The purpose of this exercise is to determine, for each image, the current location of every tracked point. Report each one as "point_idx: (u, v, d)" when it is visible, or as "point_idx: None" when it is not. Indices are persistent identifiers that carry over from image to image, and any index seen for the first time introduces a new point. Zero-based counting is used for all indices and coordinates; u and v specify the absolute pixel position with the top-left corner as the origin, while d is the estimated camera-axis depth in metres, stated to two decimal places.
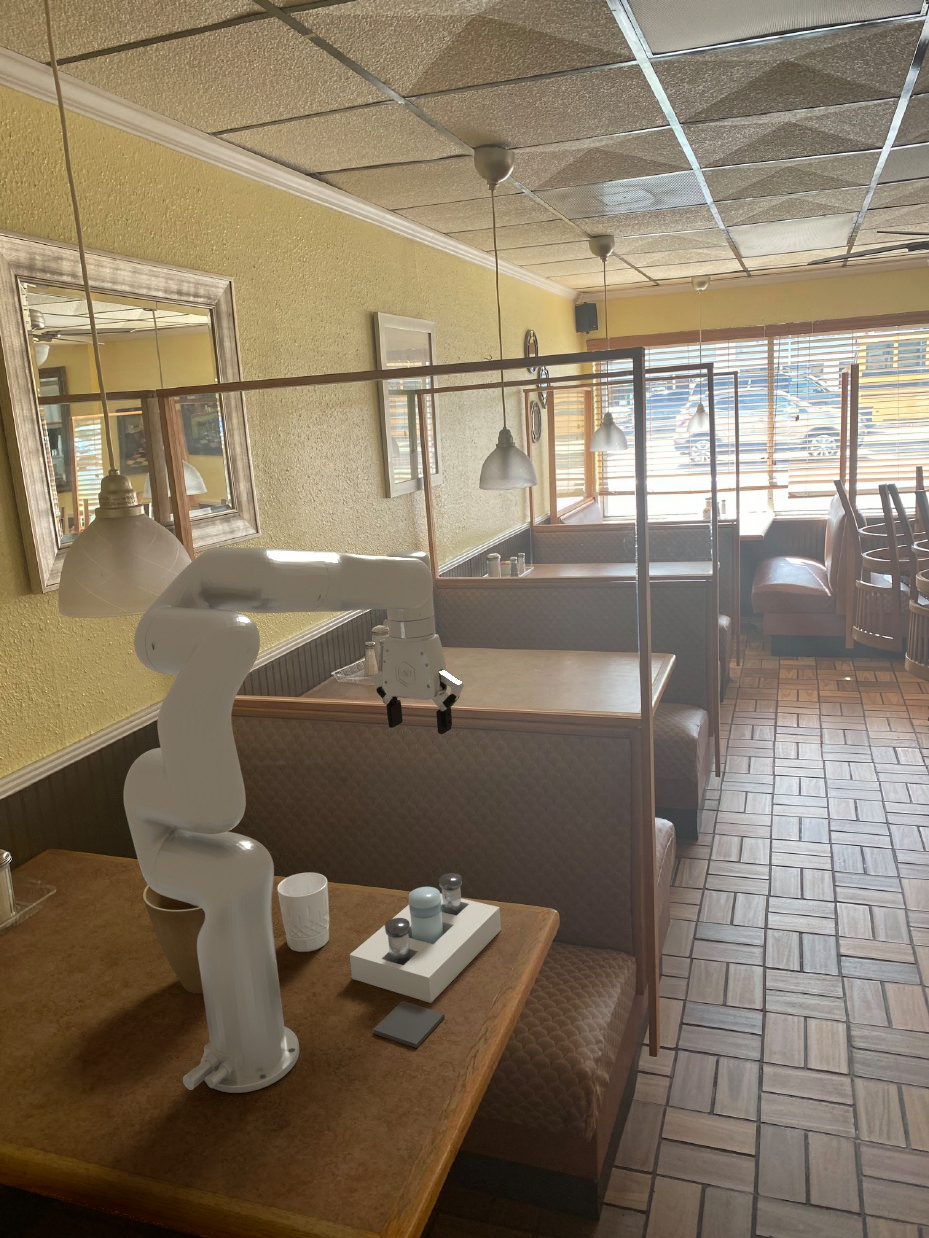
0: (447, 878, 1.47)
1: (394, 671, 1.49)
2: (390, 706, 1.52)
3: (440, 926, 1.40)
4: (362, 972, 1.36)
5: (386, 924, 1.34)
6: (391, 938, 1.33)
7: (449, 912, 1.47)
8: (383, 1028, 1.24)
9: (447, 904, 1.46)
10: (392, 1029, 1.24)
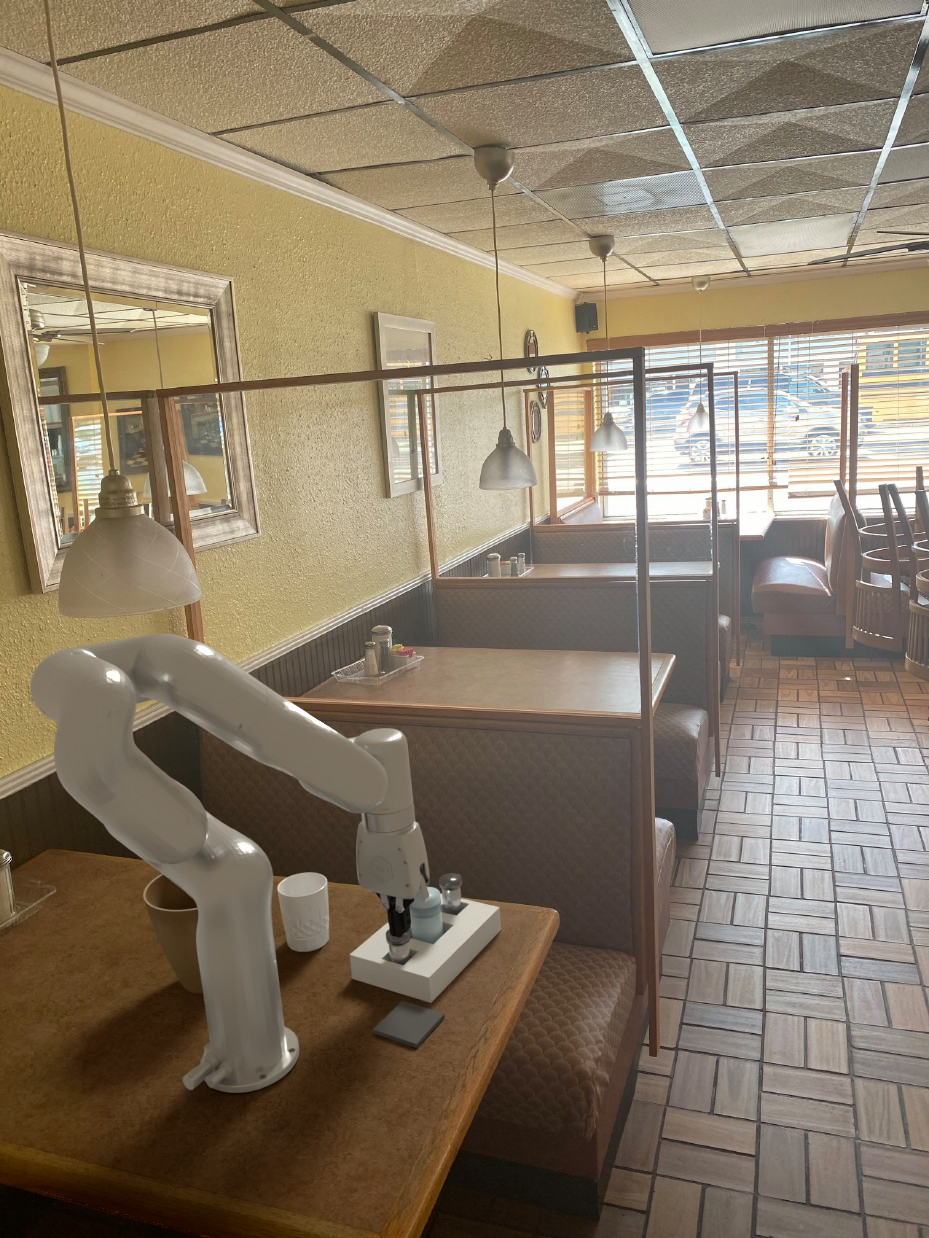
0: (447, 878, 1.47)
1: (369, 864, 1.31)
2: (391, 912, 1.33)
3: (440, 926, 1.40)
4: (362, 972, 1.36)
5: (387, 932, 1.35)
6: (392, 946, 1.34)
7: (449, 912, 1.47)
8: (383, 1028, 1.24)
9: (447, 904, 1.46)
10: (392, 1029, 1.24)
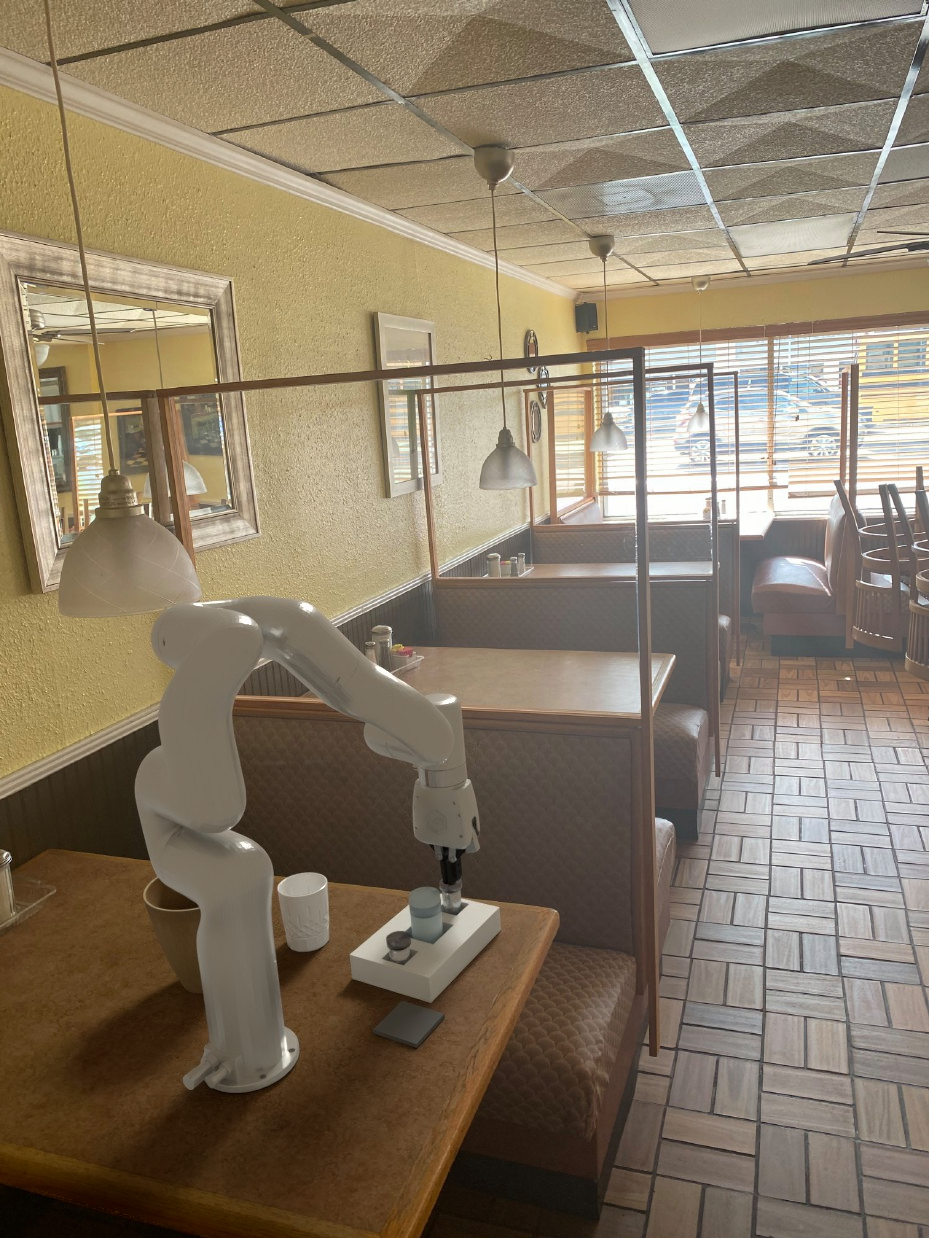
0: None
1: (425, 818, 1.44)
2: (444, 862, 1.45)
3: (440, 926, 1.40)
4: (362, 972, 1.36)
5: (387, 937, 1.35)
6: (392, 951, 1.34)
7: None
8: (383, 1028, 1.24)
9: (448, 907, 1.46)
10: (392, 1029, 1.24)
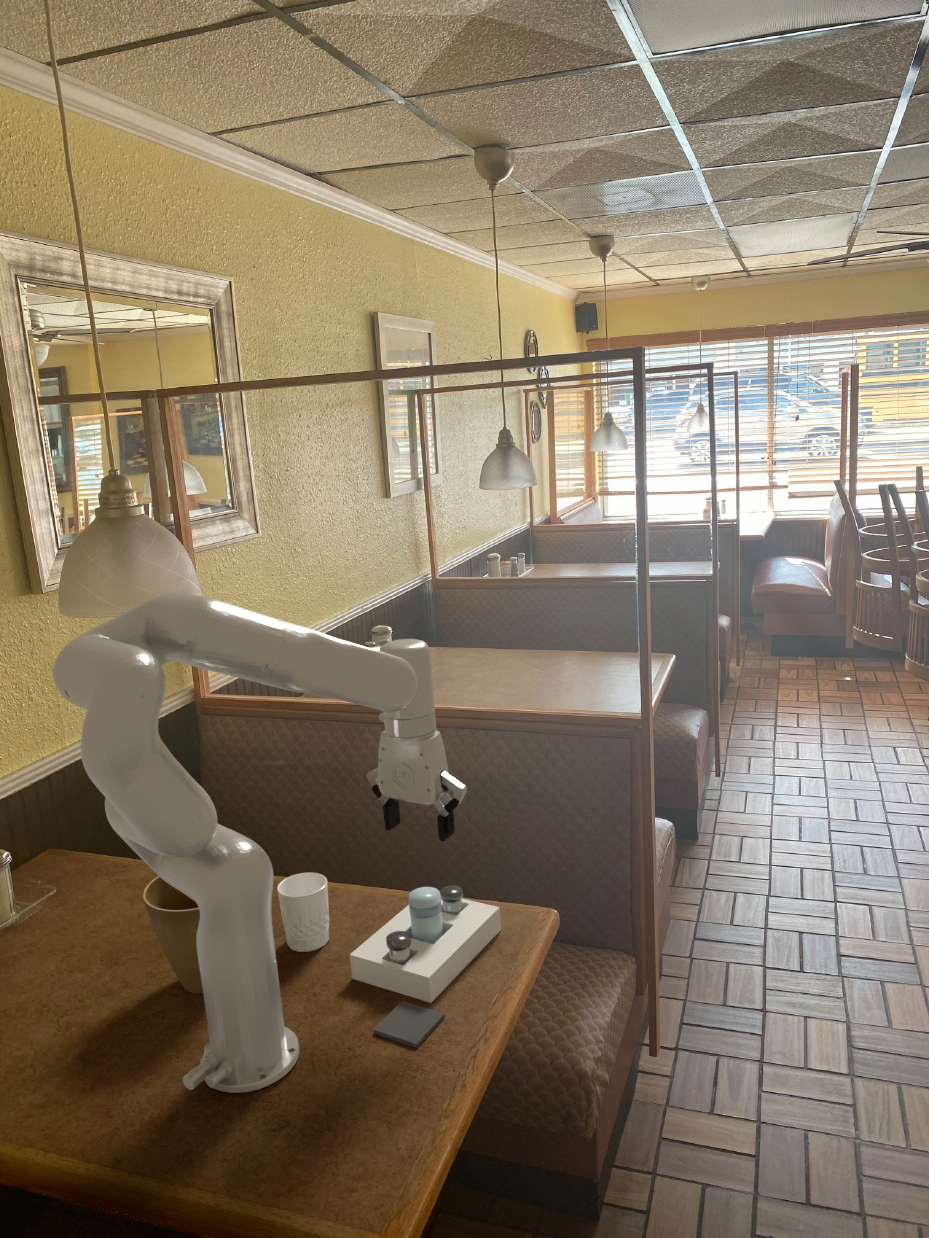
0: (448, 890, 1.47)
1: (391, 771, 1.35)
2: (387, 807, 1.39)
3: (440, 926, 1.40)
4: (362, 972, 1.36)
5: (387, 937, 1.35)
6: (392, 951, 1.34)
7: None
8: (383, 1028, 1.24)
9: None
10: (392, 1029, 1.24)
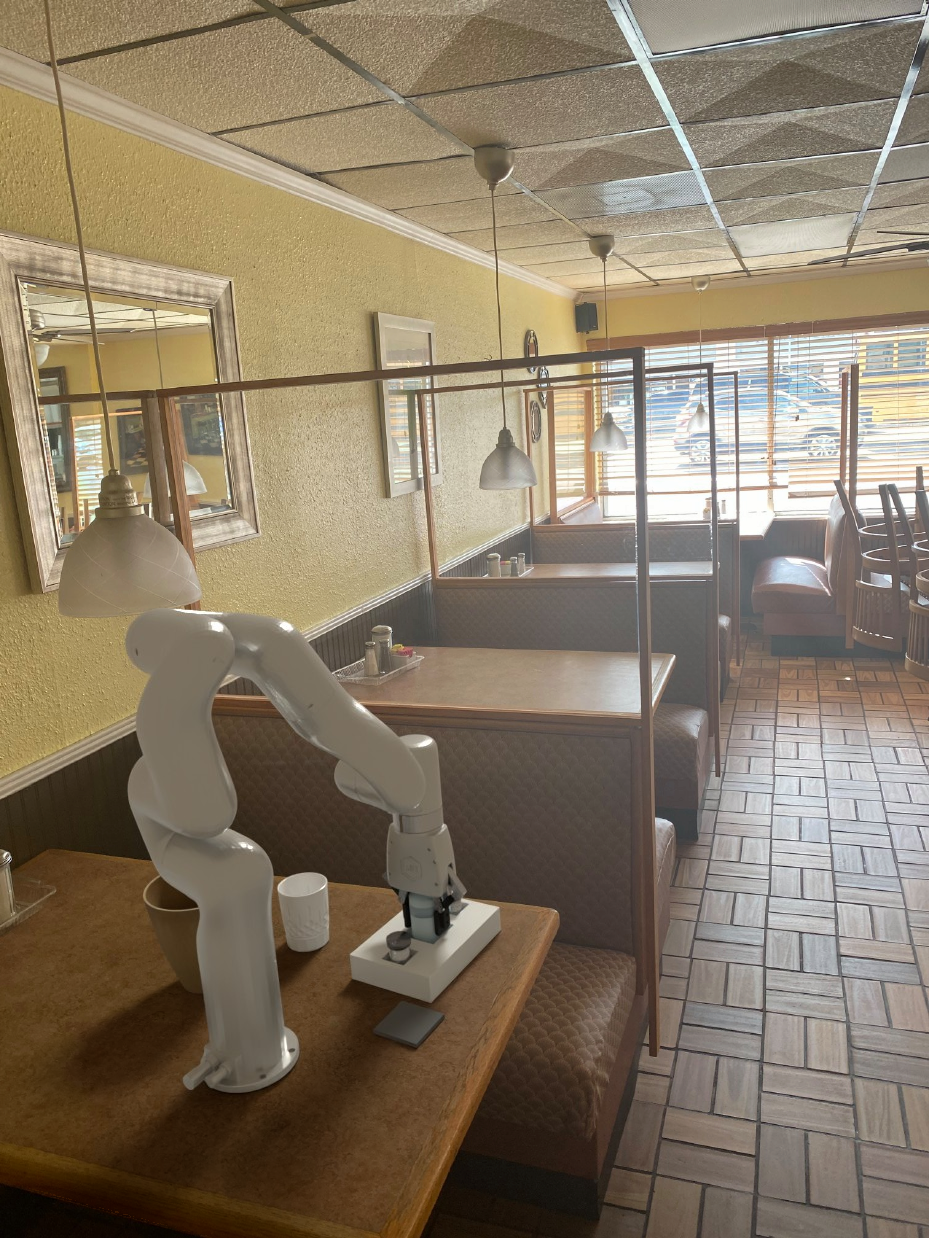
0: None
1: (399, 864, 1.38)
2: (406, 906, 1.41)
3: None
4: (362, 972, 1.36)
5: (387, 937, 1.35)
6: (392, 951, 1.34)
7: None
8: (383, 1028, 1.24)
9: None
10: (392, 1029, 1.24)
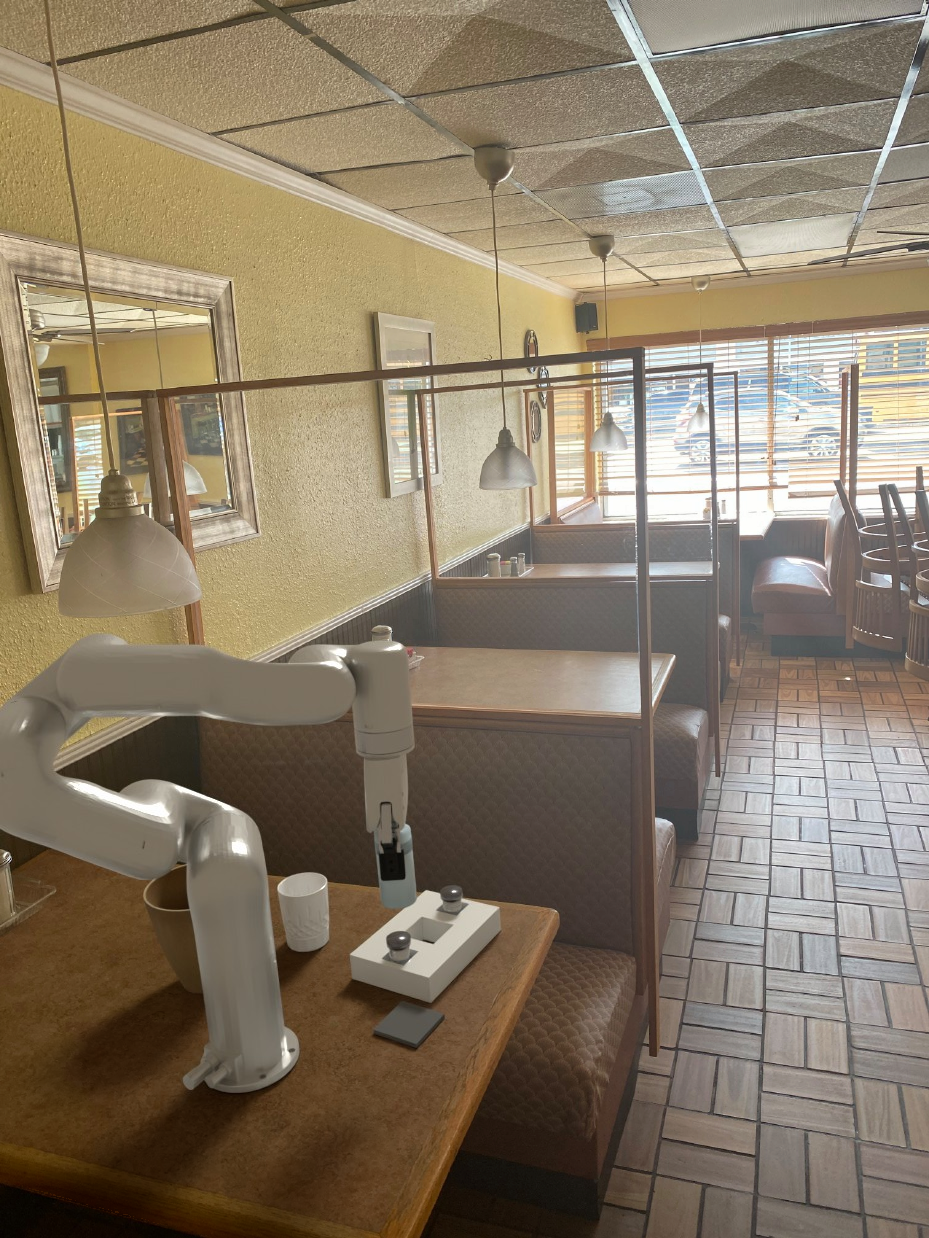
0: (448, 890, 1.47)
1: None
2: None
3: None
4: (362, 972, 1.36)
5: (387, 937, 1.35)
6: (392, 951, 1.34)
7: None
8: (383, 1028, 1.24)
9: None
10: (392, 1029, 1.24)
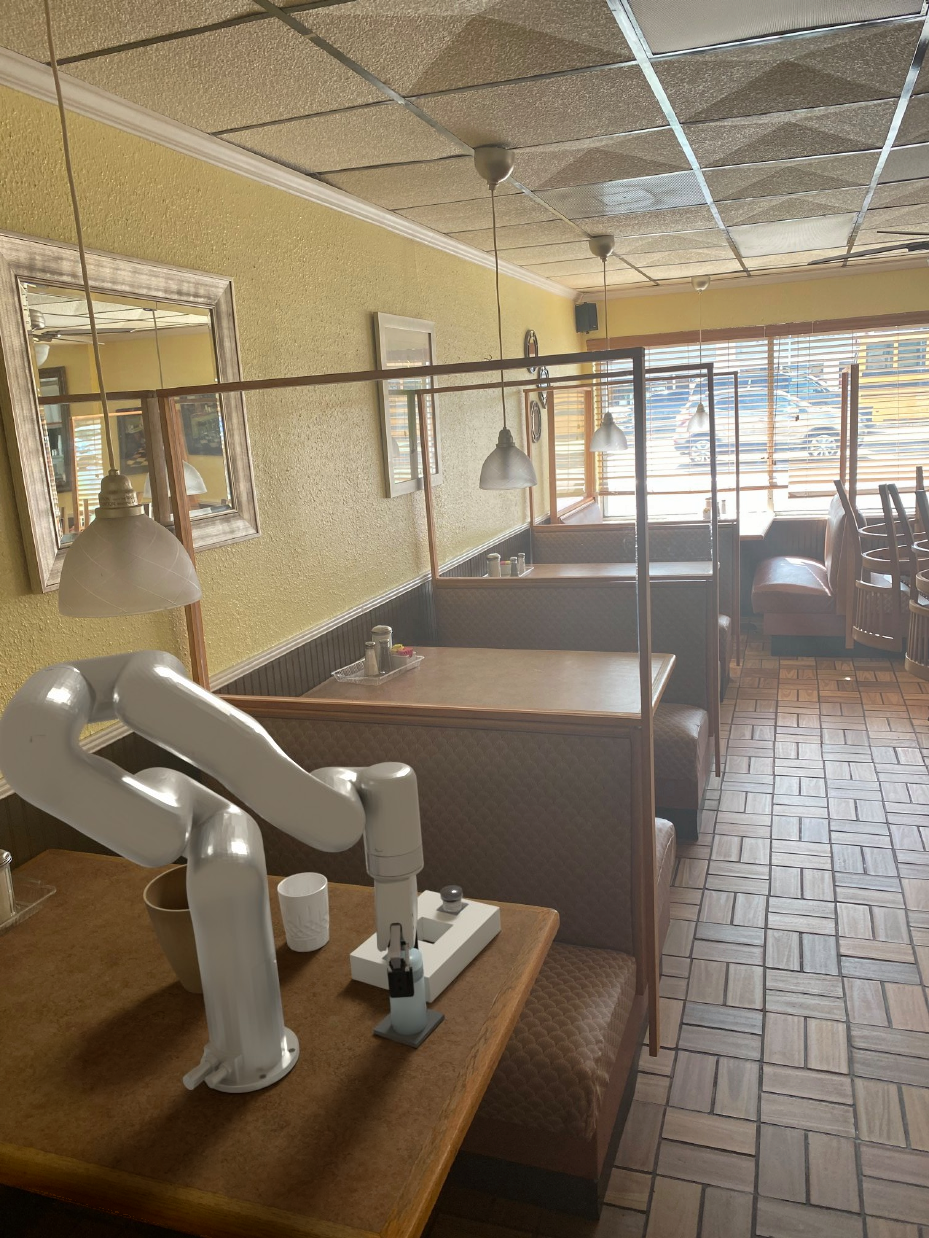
0: (448, 890, 1.47)
1: None
2: None
3: (407, 1000, 1.22)
4: (362, 972, 1.36)
5: None
6: None
7: None
8: (383, 1028, 1.24)
9: None
10: (392, 1029, 1.24)
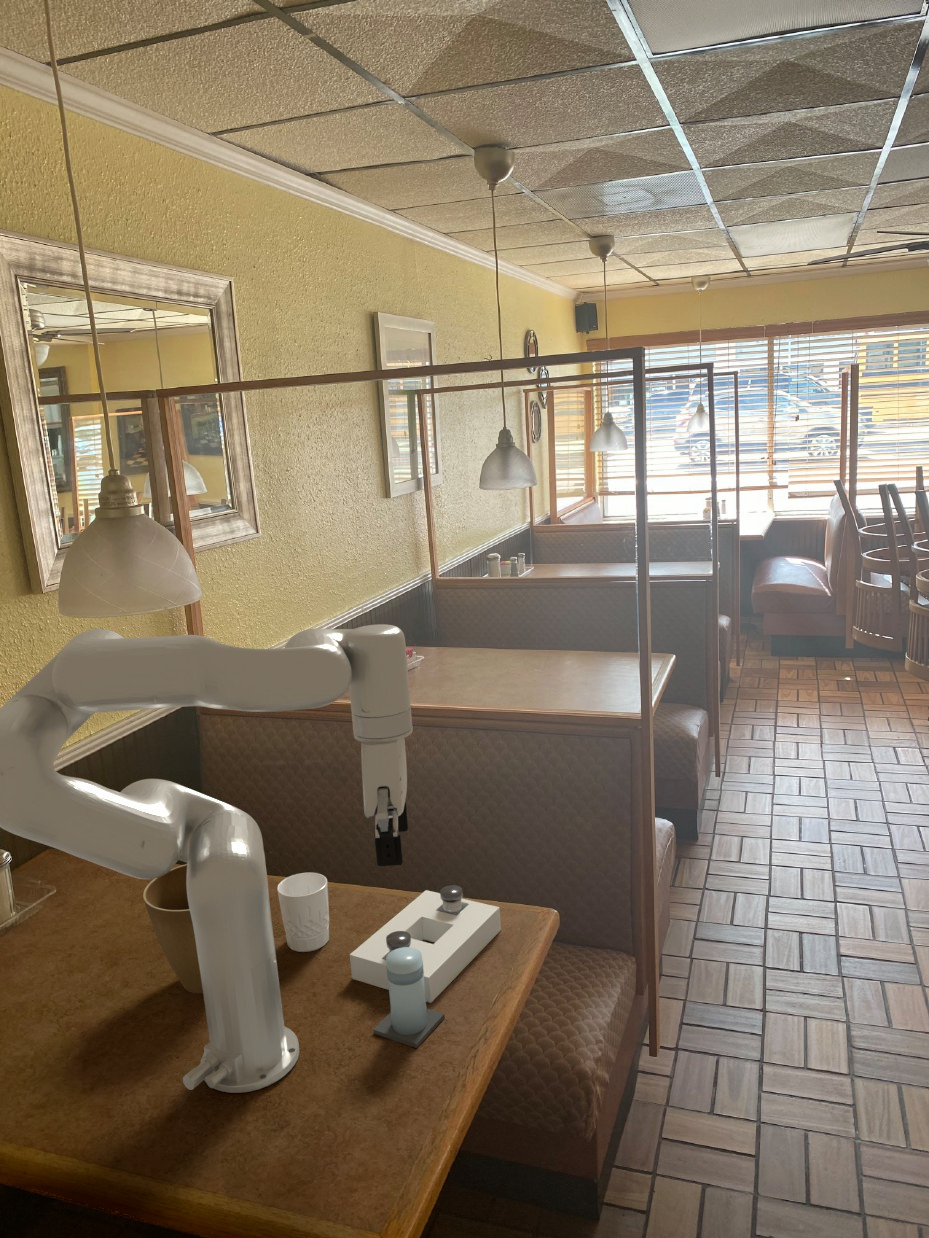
0: (448, 890, 1.47)
1: None
2: None
3: (407, 1000, 1.22)
4: (362, 972, 1.36)
5: (387, 937, 1.35)
6: None
7: None
8: (383, 1028, 1.24)
9: None
10: (392, 1029, 1.24)
